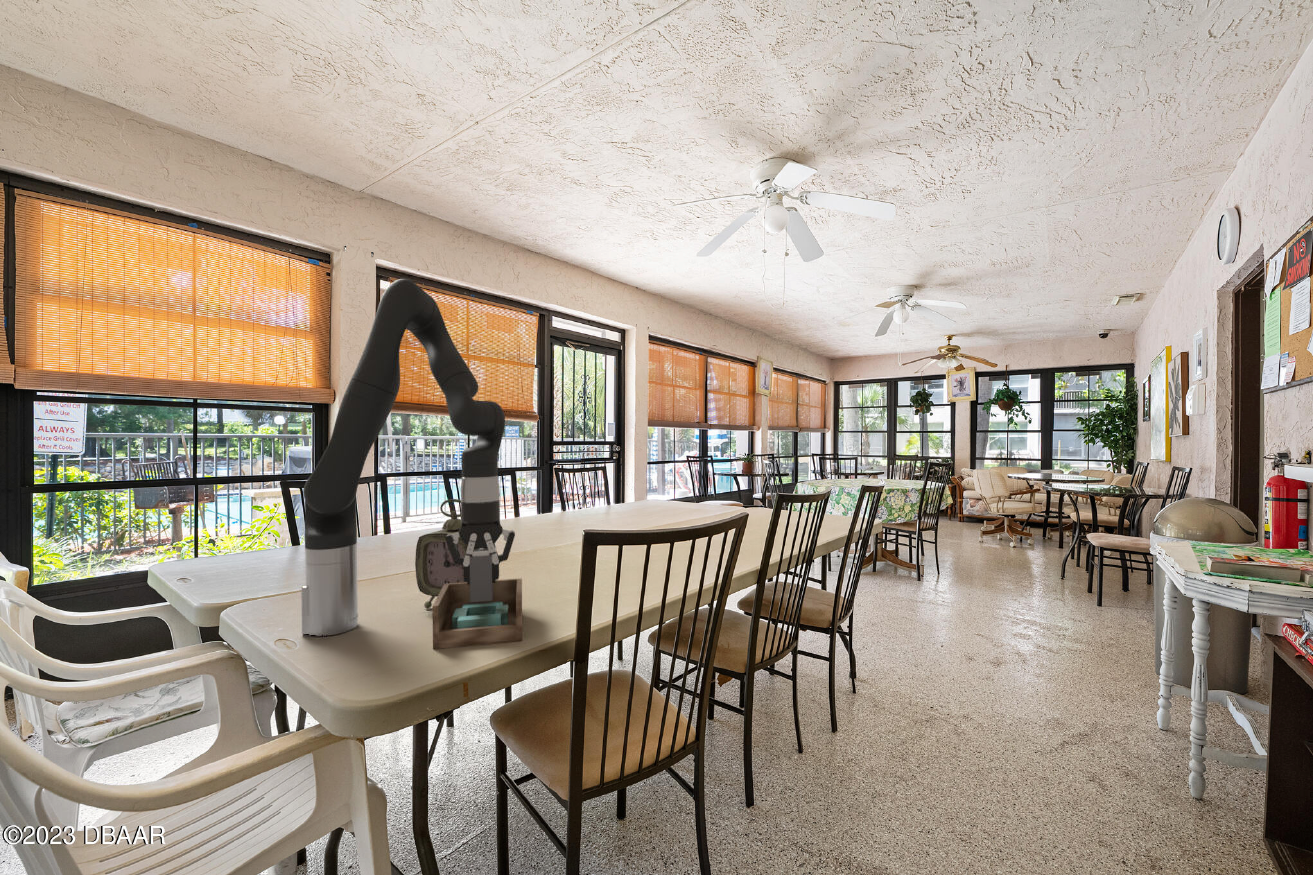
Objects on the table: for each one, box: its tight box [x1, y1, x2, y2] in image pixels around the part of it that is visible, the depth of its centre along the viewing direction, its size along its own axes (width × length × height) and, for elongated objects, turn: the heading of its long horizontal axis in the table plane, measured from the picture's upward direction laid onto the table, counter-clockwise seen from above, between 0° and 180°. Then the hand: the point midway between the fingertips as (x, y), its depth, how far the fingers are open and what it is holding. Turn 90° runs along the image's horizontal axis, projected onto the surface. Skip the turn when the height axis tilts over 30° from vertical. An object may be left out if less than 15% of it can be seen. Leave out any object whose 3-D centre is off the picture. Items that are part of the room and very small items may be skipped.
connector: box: [470, 548, 493, 603], centre depth 112 cm, size 4×4×10 cm
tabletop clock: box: [414, 498, 468, 609], centre depth 127 cm, size 14×9×25 cm, turn 76°
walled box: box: [432, 577, 523, 650], centre depth 111 cm, size 16×16×8 cm
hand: (481, 582), depth 112 cm, fingers closed on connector, 4 cm apart
